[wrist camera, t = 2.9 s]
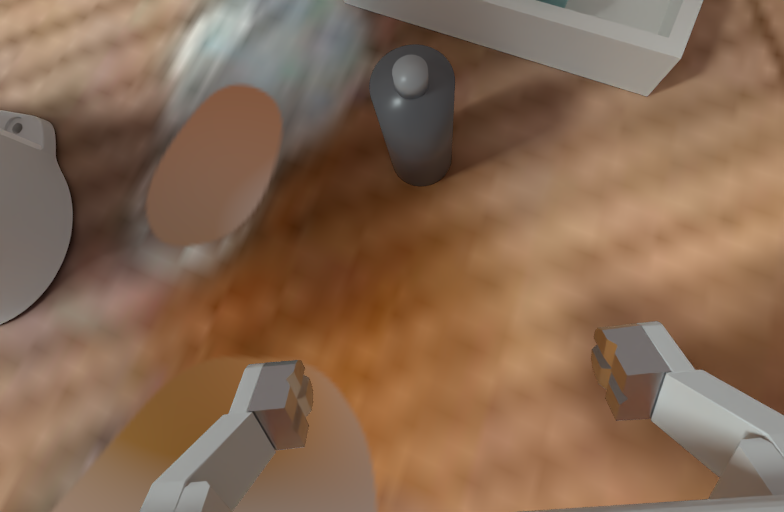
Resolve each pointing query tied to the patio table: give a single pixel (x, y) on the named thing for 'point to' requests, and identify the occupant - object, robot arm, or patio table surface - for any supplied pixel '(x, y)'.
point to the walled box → (565, 32)
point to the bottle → (415, 111)
